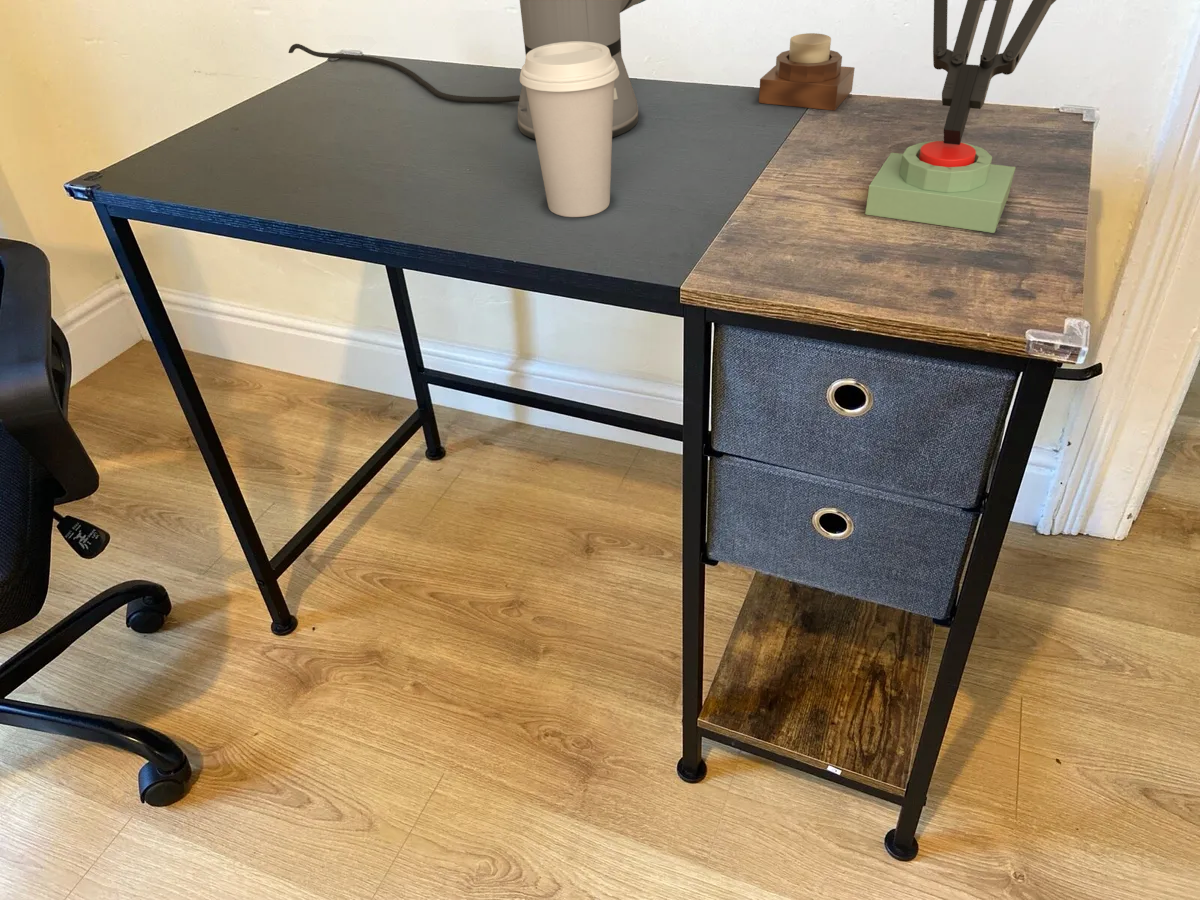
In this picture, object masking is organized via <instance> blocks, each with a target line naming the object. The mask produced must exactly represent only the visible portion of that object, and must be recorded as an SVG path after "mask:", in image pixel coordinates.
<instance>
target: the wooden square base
mask: <svg viewBox="0 0 1200 900" xmlns="http://www.w3.org/2000/svg"><path fill="white" fill-rule="evenodd" d="M789 50H790V49H789ZM789 50H785V51H781V52H780V53H779V54H778V55H777V56H776V59H775V66H773V67H772V68H771V69H770V70H768V72H766V73H765V74H763V76H762V77H761V78H760V79H759V90H758V91H759V92H758V104H764V105H765V104H766V105H776V106H783V107H784V106H786V107H796V108H805V109H815V110H826V111H837V109H838V108H839V106H840V105H841V104H842V103H843V102H844V101H845V100H846V99H847V98H848V96H849V95H850V94H851V93H852V91H853V84H854V76H855V67H854V66H853V67H852V66H843V65H842V62H843V55H841V54H840V53H839V52H838V51H835V50H831V49H830V55H829V60H828V61H824V62H820V63H798V62H793V61H790V60H789Z"/></svg>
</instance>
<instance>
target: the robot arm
mask: <svg viewBox="0 0 1200 900" xmlns="http://www.w3.org/2000/svg"><path fill="white" fill-rule="evenodd" d="M646 1H647V0H519V9H520V16H521V25H522V33H523V43H524V52H525V53H524V54H525V56H526V55H527V53H528V52H529V51H531V50H533V49H535V48H537V47H540V46H544V45H548V44H553V43H560V42H572V41H583V42H594V43H599V44H602V45H605V46H606V47H608V48H609V50H610V54H611V57H612V58H613V59H614V60H615V62H616V64H617V66H618V70H619V76H618V77H617V78H616V79H615V80H614V100H613V125H612V138H614V137H617V136H620V135H623V134H625V133H626V132H628V131H630V130H632V128H634V127H635V126H636V125H637V124H638V122H639V106H638V100H637V96H636V95H635V91H634V89H633V85H632V82H631V79H630V76H629V73H628V71H627V68H626V64H625V62H624V59H623V56H622V55H623V54H622V36H621V35H622V33H621V32H622V31H621V13H623V12H625V11H627V10H628V9H630V8H631V7H634V6H636V5H639V4H641V3H644V2H646ZM948 1H949V0H933V31H932V33H933V37H932V38H933V39H932V40H933V41H932V57H933V58H932V60H933V61H932V62H933V67H934V69H935V70H938V71H939V70H943V71H946V77H945V80H944V84H943V87H942V91H941V103H942V104H941V105H942V106H943V107H949V108H948V113H947V116H946V119H945V123H944V127H943V141H944V143H947V144H958V145H960V143H961V142H962V138H963V135H964V132H965V128H966V125H967V121H968V117H969V114H970V110H971V109H976V110H981V109H982V107H983V106H984V104H985V101H986V97H987V94H988V91H989V87H990V83H991V81H992V79H993V78H994V77H995V76H997V75H1001V74H1003V75H1006V76H1009V75H1012V73H1014V71H1015V70H1016V68H1017V67H1018V64H1019V63H1020V61H1021V59H1022V57H1023V56H1024V54H1025V52H1026V50H1027V48H1028V47H1029V45H1030V44H1031V41H1032V39H1034V36H1035V34H1036V33H1037V31H1038V29H1039V28H1040V26H1041V24H1042V22H1043V20H1044V18H1045V17H1046V15H1047V13H1048V11H1049V9H1050V8H1051V6H1052V5H1053V4H1054V3H1055V2H1056V1H1057V0H1032V1H1031V2H1030V4H1029V6H1028V8H1027V10H1026V11H1025V13H1024V15H1023V16H1022V18H1021V20H1020V22H1019V23H1018V25H1017V27H1016V29H1015V31H1014V32H1013V34H1012V36H1011V38H1010V40H1009V42H1008V43H1007V45H1006V47H1005V49H1004V50H1003V52H1001V53H1000V49H1001V46H1002V42H1003V38H1004V35H1005V31H1006V27H1007V24H1008V21H1009V17H1010V14H1011V13H1012V12H1011V11H1012V8H1013V4H1014V0H994V1H995V5H994V8H993V11H992V15H991V19H990V23H989V26H988V30H987V33H986V37H985V41H984V45H983V47H982V51H981V54H980V57H979V58H980V59H979V64H968V60H969V56H970V53H971V49H972V45H973V43H974V39H975V35H976V32H977V28H978V25H979V21H980V18H981V14H982V12H983V9H984V6H985V2H986V1H988V0H966V4H965V8H964V11H963V14H962V18H961V22H960V25H959V28H958V32H957V35H956V39H955V43H954V46H953V48H952V49H953V50H951V49H948V5H949V3H948ZM297 49H298V50H301V51H303V52H305V53H307V54H309V55H311V56H313V57H317V58H324V59H325V58H326V59H344V60H356V61H364V62H369V63H370V62H371V63H376V64H381V65H385V66H388V67H390V68H391V67H392V68H393V69H396V70H398V71H401V72H402V73H404V74H405V75H408V76H409V77H411V78H412V79H413V80H415V81H416V82H417V83H418V84H419V85H421V86H423V87H424V88H426V89H427V90H428V91H429V92H430V93H431V94H433V95H435V96H436V97H438V98H440V99H444V100H448V101H453V102H459V103H460V102H461V103H485V104H486V103H491V104H492V103H498V104H499V103H514V102H518V105H517V124H518V125H517V126H518V129H519V131H520V133H521V134H522V135H524V136H526V137H528V138H530V139H533V140H536V138H535V133H534V128H533V122H532V117H531V112H530V107H529V102H528V97H527V92H526V87H525V86H524V85H522V84H521V89H520V94H519V95H509V96H507V95H506V96H466V95H455V94H450V93H445V92H442V91H440V90H438V89H436V88H435V87H434V86H433V85H431V84H430V83H429V82H428V81H426V80H424V79H423V78H422V77H421V76H419V75H418V74H417V73H416V72H414V71H412V70H411V69H408V68H407V67H405V66H403V65H401V64H399V63H397V62H393V61H391V60H389V59H388V60H387V59H383V58H380V57H375V56H368V55H362V54H353V53H335V52H334V53H333V52H321V51H320V52H319V51H315V50H312V49H311V48H309V47H307V46H305V45H303V44H301V43H294V44H292V45H291V46H290V47H289V49H288V54H294V52H295V50H297Z"/></svg>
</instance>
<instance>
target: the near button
mask: <svg viewBox="0 0 1200 900" xmlns="http://www.w3.org/2000/svg"><path fill="white" fill-rule="evenodd" d="M934 141H935V142H930V143H927V144H925V145H923V146H922V147H921V149H920V154H919V160H920V161H923V162H925V163H928V164H931V165H934V166H942V167H961V166H967V165H970V164H973V163H974V159H975V155H976V151H975V149H974V148H973V147H971V146H970V145H967V144H964V143H965V142H962V143H960V145H958V144H947V143H944V140H943V141H942V140H934Z"/></svg>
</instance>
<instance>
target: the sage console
mask: <svg viewBox="0 0 1200 900" xmlns="http://www.w3.org/2000/svg"><path fill="white" fill-rule="evenodd" d="M935 141H936V140H932V141H930V140H929V141H921V142H918V143H915V144H913V145H910V146H907V147H906V149H905V150H904V151H903V153H898V152H890V153H889V155H888V157H887V158H886V160H885V161H884V162H883V164H882V165H881V167H880V168H879V170H878V172H877V173H876V174H875V176H874V177H873V179H872V181H871V182H870V184H869V185H868V191H867V192H868V193H867V198H866V205H865V213H864V214H865V215H867V216H873V217H879V218H887V219H894V220H902V221H908V222H913V223H914V222H915V223H922V224H928V225H936V226H942V227H948V228H956V229H963V230H970V231H977V232H982V233H983V232H984V233H991V234H995V233H996V230H997V228H998V225H999V222H1000V220H1001V217H1002V214H1003V212H1004V209H1005V206H1006V204H1007V202H1008V199H1009V196H1010V192H1011V188H1012V184H1013V180H1014V177H1015V173H1016V172H1015V171H1016V166H1009V165H1002V164H994V163H992V160H993V156H992V155H991V154H990V153H989V152H988V151H987V150H986V149H985V148H983V147H980V146H976V145H975V144H970V143H967V142H962V141H961V143H964V144H967V145H970V146H971V147H973V148H974V149H975V151H976V155H975V159H974V163H973V164H970V165H967V166H961V167H942V166H934V165H931V164H928V163H925V162H923V161H920V160H919V154H920V149H921V147H922V146H923V145H925V144H927V143H930V142H935ZM941 141H944V139H943V140H942V139H941Z"/></svg>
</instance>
